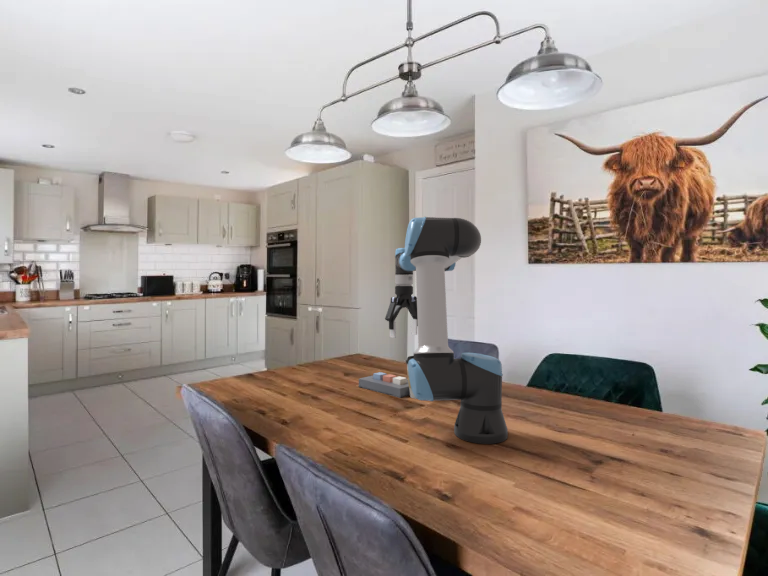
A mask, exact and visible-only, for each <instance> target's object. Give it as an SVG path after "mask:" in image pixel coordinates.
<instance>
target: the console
mask: <svg viewBox="0 0 768 576" xmlns="http://www.w3.org/2000/svg"><path fill="white" fill-rule="evenodd" d="M358 388H360V389H361V388H362V389H365V390H369V391H373V392H376V393H380V394H384V395H388V396H392V397H395V398H398V399H401V398H404V397H407V396H410V389H409V383H408V379H407V383H406V384H403V385H398V384H393V382H391V383H389V382H385V381H383V380H377V379H373V375H369V376H364V377H361V378H358Z"/></svg>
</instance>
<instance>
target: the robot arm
mask: <svg viewBox="0 0 768 576" xmlns="http://www.w3.org/2000/svg"><path fill="white" fill-rule="evenodd" d="M481 244H482V236H481V232H480V230H479V228H478V227H477V226H476V225H475V224H474V223H473V222H471V221H469V220H467V219H465V218H462V217H461V218H460V217H436V216H435V217H433V216H432V217H431V216H430V217H428V216H424V217H413V218H411V219H410V221H409V222H408V224H407V229H406V235H405V240H404V247H398V248H396V249H395V253H394V254H395V255H394V260H395V261H394V262H395V263H394V265H395V266H394V267H395V269H394V271H395V272H394V273H395V274H394V275H395V276H394V284H395V286H394V294H395V295H396V297H394V296H392V297H390V303H389V306H388V309H387V311H386V315H385V317H384V319H385V321H386V322H388V329H389V338H393V339H396V338H397V331H396V330H397V321H396V319H397V318H398V315H399V313H400V311H401V310H402V309H404V308H406V309H407V311H408V312H409V314H410V316H411V321H410V322H411V324H410V325H411V326H410V327H411V330H410V331H411V335H414V336H418V337H417V343H418V347H417V348H416V350H415V351H414V352H413V356H414V359H411V360H409V362H408V373H409V380H410V385H411V389H412V392H413V394H414V396H415V397H416V398H417V399H416V400H419V401H429V402H434V401H455V400H456V401H457V400H459V401H460V407H459V409H458V410H459V411H458V413H457V416H456V418H455V422H454V427H453V428H454V431H453V433H454V435H455V436H456V437H457V438H458V439H460V440H462V441H466V442H470V443H474V444H479V445H480V444H482V445H483V444H484V445H485V444H486V445H487V444H488V445H492V444H499V443H502V442H504V441H506V440H507V439H508V432H509V431H508V426H507V422H506V420H505V417H504V416H505V415H504V413H503V410H502V402H503V401H502V398H503V395H502V394H503V391H502V389H503V375H504V374H503V367H502V362H501V361H500V359H499V358H497V357H494V356H492V355H487V354H483V353H476V352H462V353H461V354H460V358H455V354H454V353H455V352H454V351H453V349H451V347H449V340H448V339H449V337H448V336H449V335H448V315H447V297H446V296H447V295H446V294H447V292H446V291H447V290H446V276H445V275H446V273H445V272H452V271H454V270H455V268H456V263H457V262H459V260H461V259H464V258H469V257H471V256H473V255H474V254H475V253H477V251H479V249H480V246H481ZM414 272H415V277H416V278H415V280H416V281H415V282H416V283H415V284H416V286H415V287H416V288H415V289H416V295H415V296H414V295H413V294H414V286H413V285H414Z"/></svg>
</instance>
